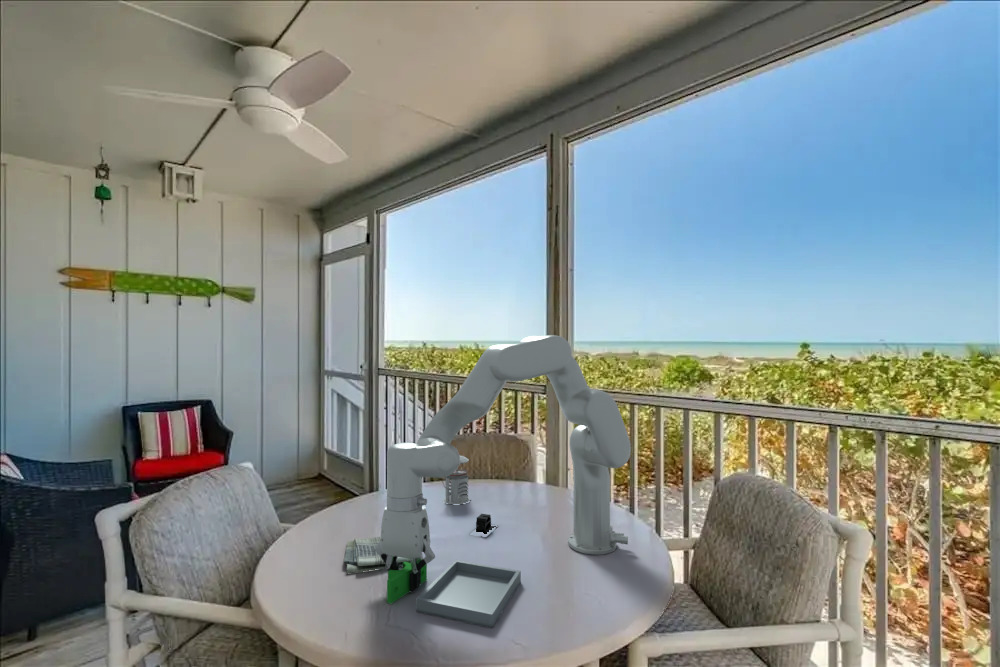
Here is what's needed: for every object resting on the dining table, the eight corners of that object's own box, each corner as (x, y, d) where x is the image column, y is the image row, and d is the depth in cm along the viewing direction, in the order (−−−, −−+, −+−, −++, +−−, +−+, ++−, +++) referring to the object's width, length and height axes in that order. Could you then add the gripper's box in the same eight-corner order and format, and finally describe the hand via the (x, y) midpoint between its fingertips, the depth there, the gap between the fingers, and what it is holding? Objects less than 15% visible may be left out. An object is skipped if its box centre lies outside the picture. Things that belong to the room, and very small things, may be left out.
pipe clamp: (413, 576, 106) (414, 556, 106) (426, 581, 104) (427, 560, 104) (377, 599, 96) (377, 576, 96) (390, 604, 94) (391, 581, 94)
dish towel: (415, 538, 128) (415, 526, 129) (425, 566, 111) (425, 553, 112) (344, 546, 123) (344, 534, 123) (343, 578, 106) (343, 564, 106)
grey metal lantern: (476, 499, 160) (477, 426, 161) (456, 509, 150) (456, 431, 151) (454, 494, 165) (454, 423, 166) (432, 503, 155) (433, 428, 156)
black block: (486, 543, 125) (486, 525, 125) (462, 539, 128) (462, 522, 128) (502, 526, 137) (502, 510, 137) (480, 522, 139) (480, 507, 140)
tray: (520, 582, 103) (520, 570, 103) (492, 628, 86) (492, 614, 86) (455, 570, 108) (455, 559, 108) (416, 612, 91) (416, 599, 91)
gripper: (447, 500, 101) (447, 585, 101) (381, 492, 107) (380, 573, 106) (431, 511, 94) (430, 603, 94) (361, 502, 100) (360, 589, 99)
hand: (404, 586), depth 100 cm, fingers closed on pipe clamp, 4 cm apart
